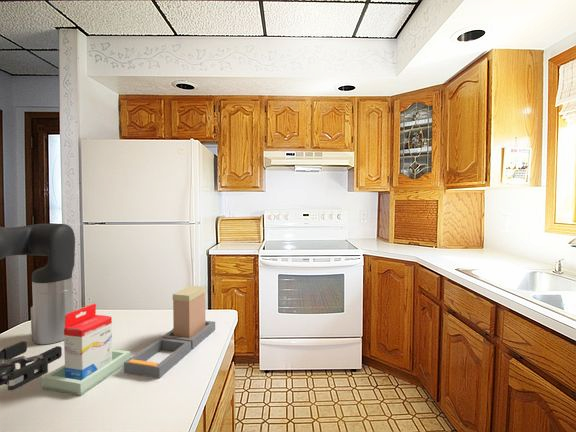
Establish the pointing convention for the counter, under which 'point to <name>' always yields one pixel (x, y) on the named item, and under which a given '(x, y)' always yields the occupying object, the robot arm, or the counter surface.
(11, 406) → the counter surface
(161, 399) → the counter surface
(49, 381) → the tray
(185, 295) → the cartridge
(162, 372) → the grey holder frame
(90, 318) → the ink box
